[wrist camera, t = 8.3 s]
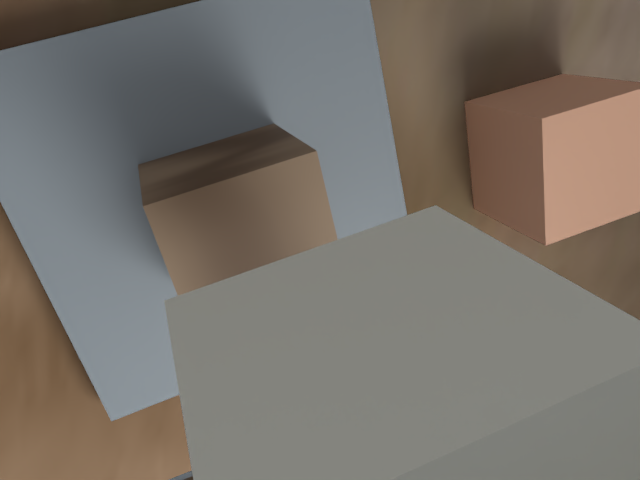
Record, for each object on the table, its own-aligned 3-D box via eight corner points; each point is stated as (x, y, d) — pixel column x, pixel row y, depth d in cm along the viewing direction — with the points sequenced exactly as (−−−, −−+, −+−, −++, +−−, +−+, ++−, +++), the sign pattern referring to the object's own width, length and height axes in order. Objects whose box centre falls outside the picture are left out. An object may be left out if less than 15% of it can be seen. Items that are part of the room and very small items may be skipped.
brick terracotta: (560, 73, 25) (655, 84, 21) (562, 178, 27) (648, 208, 23) (463, 101, 24) (542, 118, 19) (473, 208, 26) (545, 245, 22)
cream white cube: (435, 205, 10) (684, 345, 6) (464, 414, 12) (663, 635, 8) (164, 301, 9) (207, 563, 5) (246, 510, 11) (331, 832, 7)
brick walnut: (274, 123, 20) (316, 150, 16) (305, 244, 22) (351, 298, 18) (137, 164, 19) (142, 206, 15) (184, 287, 21) (201, 355, 17)
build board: (350, -37, 20) (362, -40, 19) (409, 287, 26) (421, 299, 25) (-57, 64, 18) (-68, 67, 16) (112, 403, 23) (111, 421, 22)
